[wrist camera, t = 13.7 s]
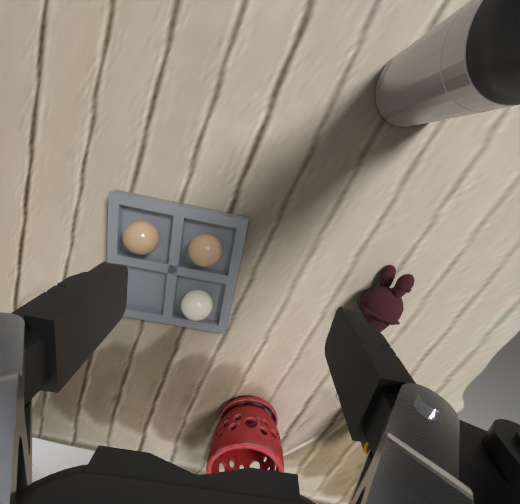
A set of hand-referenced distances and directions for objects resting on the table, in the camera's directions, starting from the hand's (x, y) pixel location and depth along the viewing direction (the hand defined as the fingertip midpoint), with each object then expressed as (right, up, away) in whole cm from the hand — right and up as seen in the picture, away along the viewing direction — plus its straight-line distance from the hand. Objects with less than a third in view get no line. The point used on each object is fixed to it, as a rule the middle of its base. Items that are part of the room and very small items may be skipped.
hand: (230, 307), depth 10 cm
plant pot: (-1, -31, +46) cm, 56 cm away
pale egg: (-9, -6, +34) cm, 35 cm away
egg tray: (-13, 0, +35) cm, 37 cm away
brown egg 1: (-16, +4, +30) cm, 34 cm away
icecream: (+21, -6, +38) cm, 43 cm away
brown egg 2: (-7, +2, +30) cm, 31 cm away
